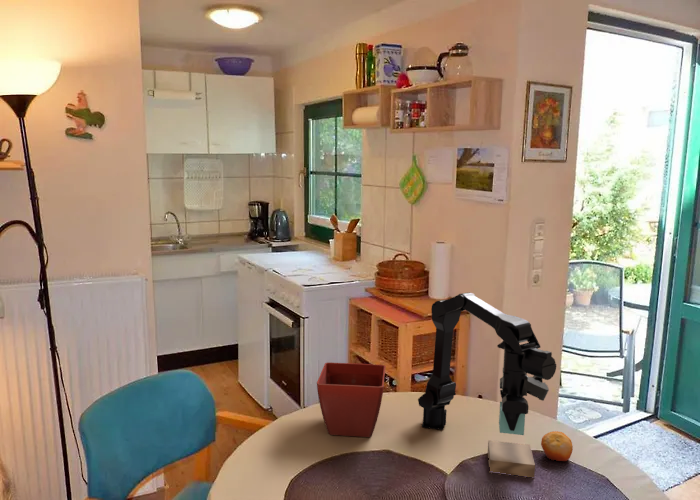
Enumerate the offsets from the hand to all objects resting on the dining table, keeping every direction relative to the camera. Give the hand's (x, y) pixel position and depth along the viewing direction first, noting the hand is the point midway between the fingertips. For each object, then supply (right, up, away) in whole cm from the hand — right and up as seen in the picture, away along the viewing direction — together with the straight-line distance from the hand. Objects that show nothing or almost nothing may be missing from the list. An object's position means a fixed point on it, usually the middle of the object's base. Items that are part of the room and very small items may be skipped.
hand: (511, 425), depth 147 cm
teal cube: (0, -1, 0) cm, 1 cm away
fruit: (+14, -11, +6) cm, 19 cm away
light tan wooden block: (0, -11, +2) cm, 12 cm away
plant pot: (-42, -8, +22) cm, 48 cm away
